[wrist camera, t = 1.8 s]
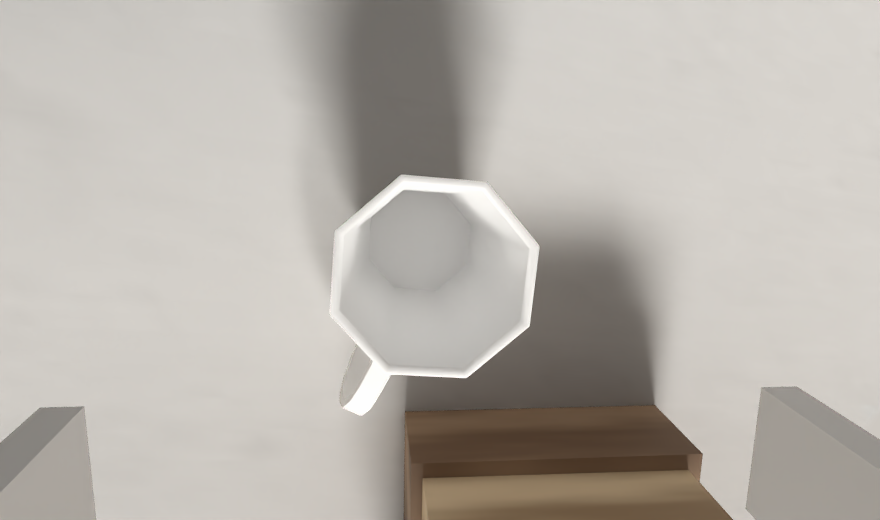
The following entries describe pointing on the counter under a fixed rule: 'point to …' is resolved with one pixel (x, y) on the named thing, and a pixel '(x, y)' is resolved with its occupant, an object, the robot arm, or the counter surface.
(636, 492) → the oak block
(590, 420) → the walnut block
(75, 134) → the counter surface
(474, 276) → the cup
